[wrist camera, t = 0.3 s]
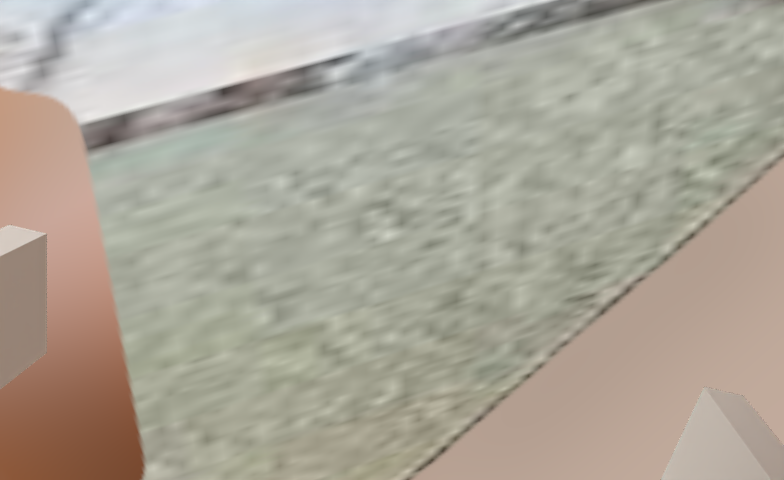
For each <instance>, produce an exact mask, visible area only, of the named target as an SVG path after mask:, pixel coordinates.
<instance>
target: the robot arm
mask: <svg viewBox="0 0 784 480" xmlns="http://www.w3.org/2000/svg"><path fill="white" fill-rule="evenodd" d="M46 292H47V234H46V233H42V232H38V231H33V230H29V229H24V228H20V227H16V226H12V225H8V226H6V227H3V228H1V229H0V389H1V388H2V387H4V386H5V385H6V384H7V383H9V382H10V381H11V380H13V379H14V378H15V377H16V376H18V375H19V374H20V373H21V372H23V371H24V370H25V369H26V368H28V367H29V366H30V365H32V364H33V363H34V362H35V361H37V360H38V359H39V358H40V357H42V356H43V355H44V354H46V348H47V347H46V345H47V343H46V342H47V334H46V331H47V329H46V328H47V324H46V323H47V315H46V314H47V311H46V310H47V293H46ZM661 480H784V445H783V444H782V443H781V442H780V440H779V439H778V438H777V437H776V435H775V434H774V433H773V432H772V430H771V429H770V428H769V427H768V425H767V424H766V423H765V422H764V421H763V420H762V418H761V417H760V416H759V415H758V413H757V412H756V411H755V409H754V408H753V407H752V406H751V405H750V403H749V402H748V401H747V400H746V399H745V397H744V396H743V395H738V394H734V393H730V392H725V391H721V390H717V389H712V388H708V387H704V388H703V390H702V392H701V394H700V396H699V398H698V401H697V403H696V405H695V407H694V409H693V411H692V413H691V415H690V418H689V420H688V422H687V424H686V426H685V428H684V431H683V433H682V435H681V437H680V439H679V441H678V443H677V446H676V448H675V450H674V452H673V454H672V456H671V458H670V461H669V463H668V465H667V467H666V469H665V472H664V474H663V476H662V478H661Z"/></svg>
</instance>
